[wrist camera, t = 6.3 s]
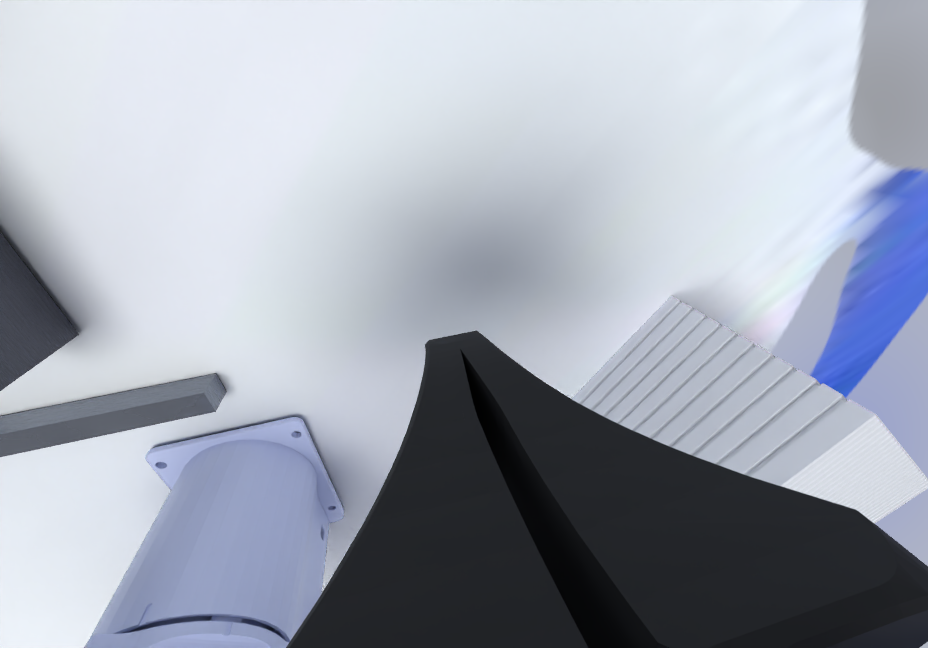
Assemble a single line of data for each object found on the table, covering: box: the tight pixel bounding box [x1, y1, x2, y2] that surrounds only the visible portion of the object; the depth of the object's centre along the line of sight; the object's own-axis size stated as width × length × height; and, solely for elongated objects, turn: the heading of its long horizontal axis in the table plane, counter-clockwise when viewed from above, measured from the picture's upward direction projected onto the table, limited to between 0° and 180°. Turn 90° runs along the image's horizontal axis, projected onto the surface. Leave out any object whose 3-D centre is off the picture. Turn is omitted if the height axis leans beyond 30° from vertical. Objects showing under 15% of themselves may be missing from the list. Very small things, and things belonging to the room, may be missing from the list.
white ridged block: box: [572, 295, 928, 523], centre depth 24 cm, size 32×11×11 cm, turn 143°
